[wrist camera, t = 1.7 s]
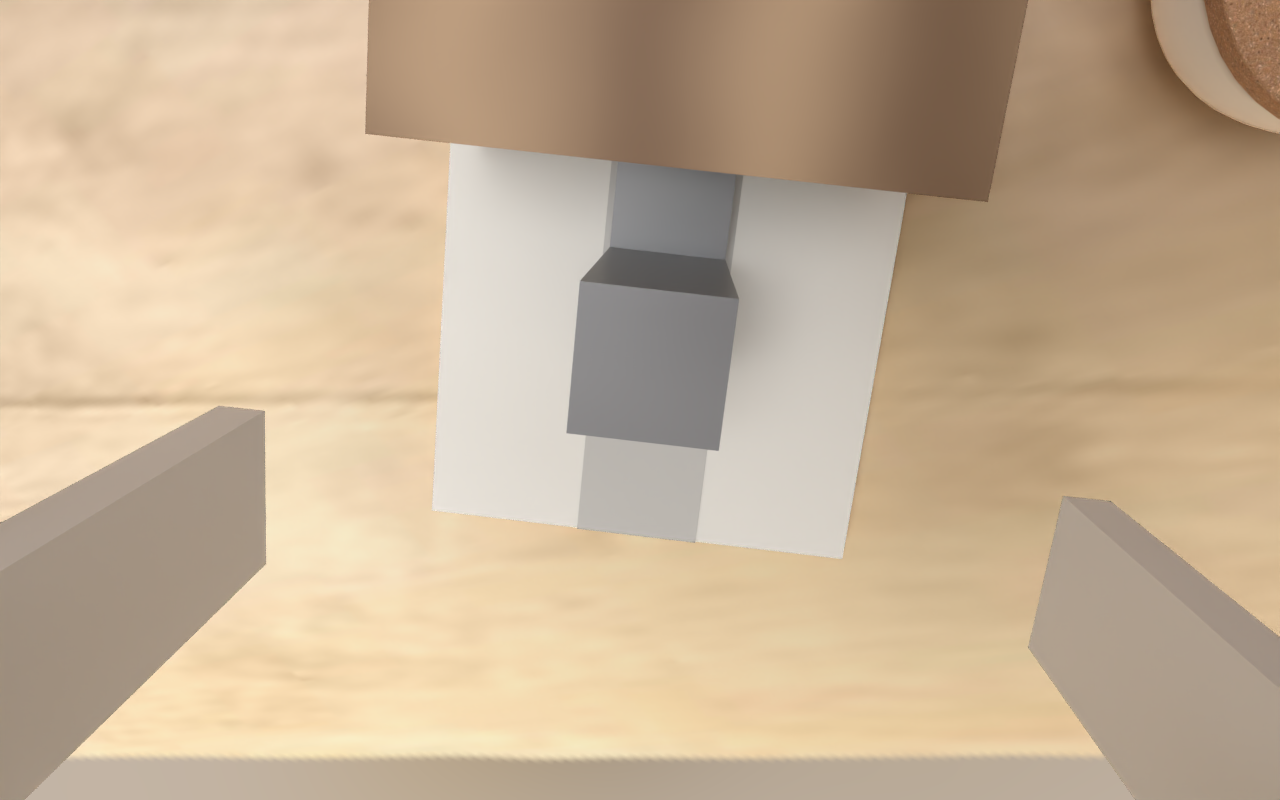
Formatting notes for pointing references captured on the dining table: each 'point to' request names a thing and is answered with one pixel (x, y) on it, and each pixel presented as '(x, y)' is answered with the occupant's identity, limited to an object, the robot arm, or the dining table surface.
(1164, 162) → the dining table surface
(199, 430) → the robot arm
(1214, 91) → the lidded jar
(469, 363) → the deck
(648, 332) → the grey l-shaped piece
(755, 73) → the tunnel
